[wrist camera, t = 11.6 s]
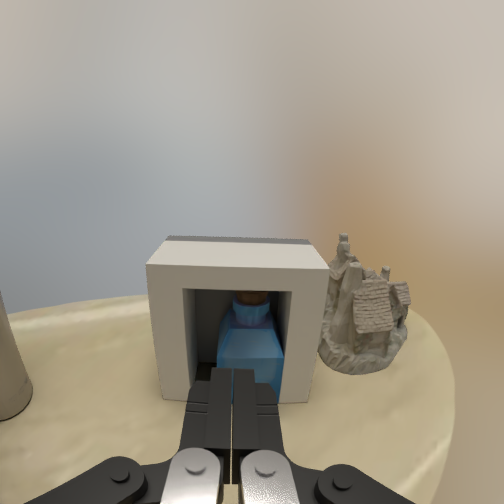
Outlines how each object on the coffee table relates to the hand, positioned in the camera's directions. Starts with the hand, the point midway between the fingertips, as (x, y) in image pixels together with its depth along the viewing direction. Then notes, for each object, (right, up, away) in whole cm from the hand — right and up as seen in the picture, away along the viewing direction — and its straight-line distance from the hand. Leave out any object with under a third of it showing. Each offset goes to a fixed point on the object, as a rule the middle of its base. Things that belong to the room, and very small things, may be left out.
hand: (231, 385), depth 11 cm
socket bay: (-1, -9, +22) cm, 24 cm away
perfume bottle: (0, -10, +22) cm, 24 cm away
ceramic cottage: (+17, -8, +31) cm, 36 cm away
